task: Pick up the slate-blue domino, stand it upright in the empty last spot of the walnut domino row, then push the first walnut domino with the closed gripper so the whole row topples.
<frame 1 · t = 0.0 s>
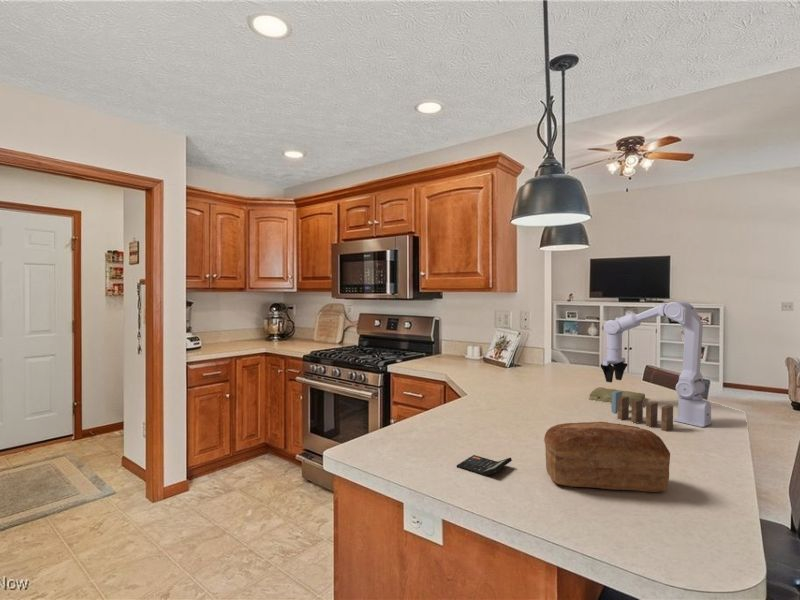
hand: (613, 381, 174), 10 cm above the counter, tool pointing down, fingers open, 7 cm apart
domino 3: (636, 422, 151), on the counter
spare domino: (616, 411, 164), on the counter
domino 1: (667, 429, 143), on the counter
domino 2: (651, 425, 147), on the counter
bread: (603, 483, 103), on the counter
decorative tile: (616, 401, 183), on the counter
calculator: (484, 469, 111), on the counter
domino 4: (623, 418, 155), on the counter
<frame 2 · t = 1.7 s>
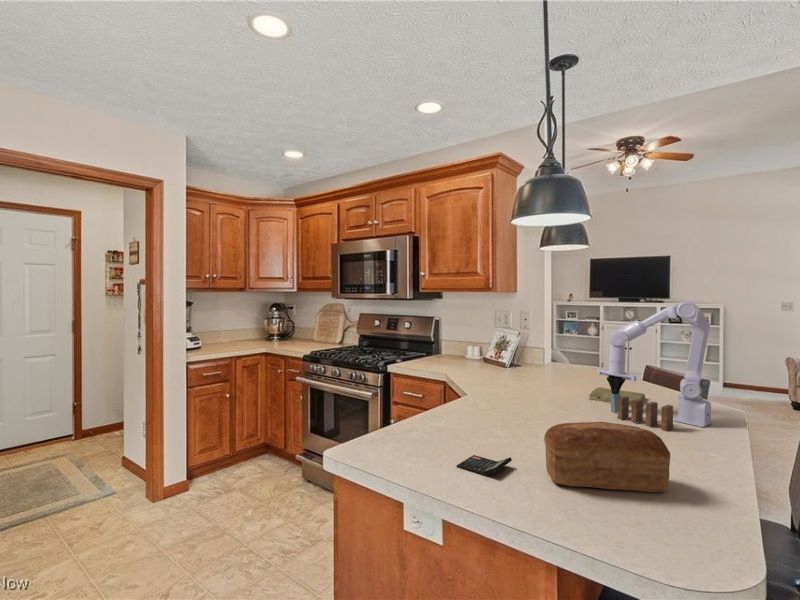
hand: (615, 395, 165), 6 cm above the counter, tool pointing down, fingers closed, pressing on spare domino
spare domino: (616, 414, 164), on the counter, touching gripper
everything else where it was.
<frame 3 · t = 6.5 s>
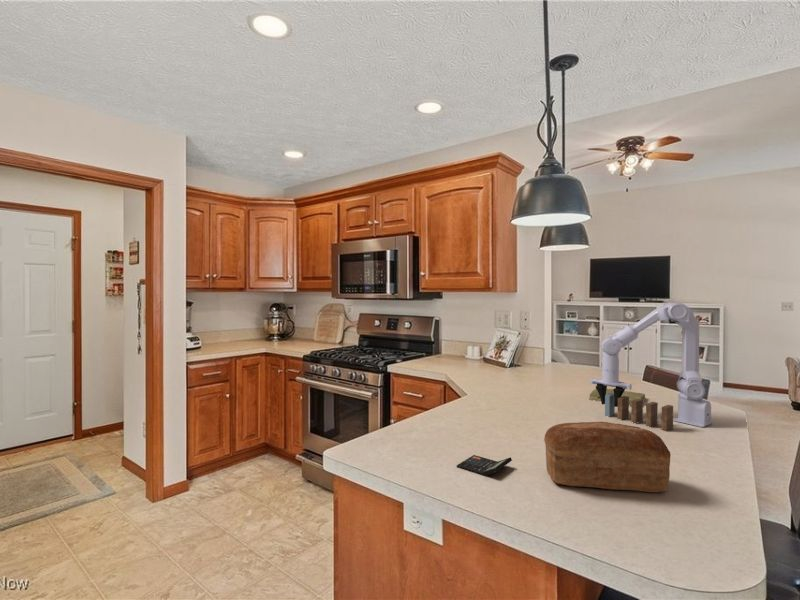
hand: (610, 405, 159), 4 cm above the counter, tool pointing down, fingers open, 4 cm apart
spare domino: (609, 415, 159), on the counter
everything else where it was.
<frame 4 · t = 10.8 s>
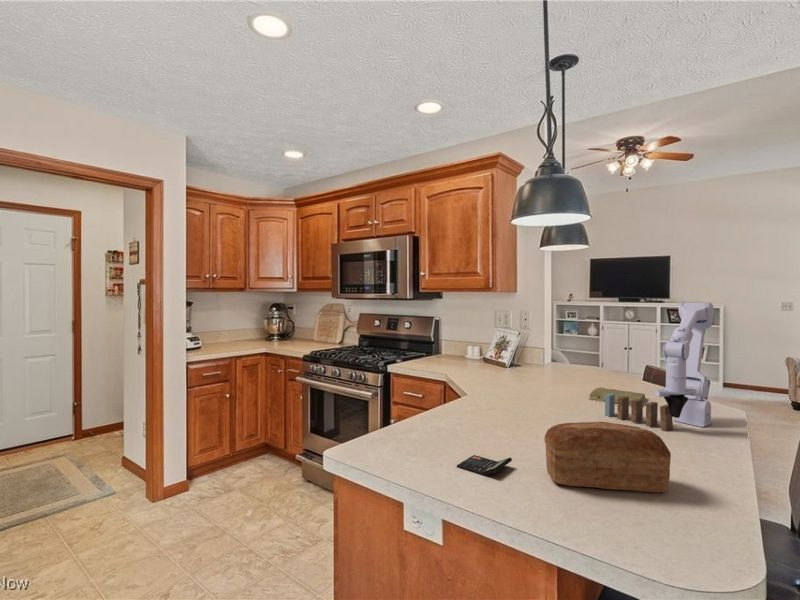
hand: (675, 417, 141), 5 cm above the counter, tool pointing down, fingers closed
domino 1: (667, 429, 143), on the counter, touching gripper
everything else where it was.
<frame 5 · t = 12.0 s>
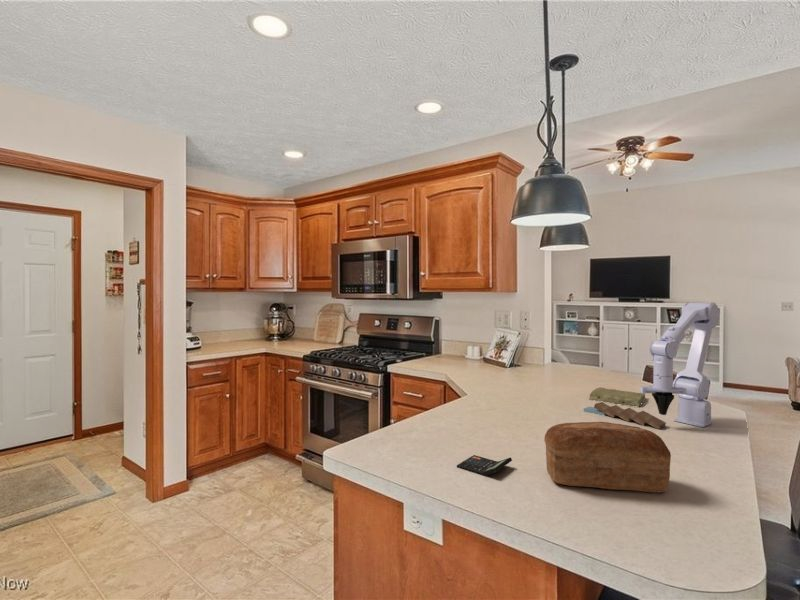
hand: (662, 414, 144), 5 cm above the counter, tool pointing down, fingers closed
domino 3: (632, 418, 152), point 1 cm above the counter, tilted 73°, touching domino 2, domino 4
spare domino: (607, 414, 160), on the counter, tilted 90°
domino 1: (662, 426, 144), point 1 cm above the counter, tilted 72°, touching domino 2
domino 2: (647, 422, 148), point 1 cm above the counter, tilted 72°, touching domino 1, domino 3
domino 4: (617, 415, 157), point 1 cm above the counter, tilted 74°, touching domino 3
everything else where it was.
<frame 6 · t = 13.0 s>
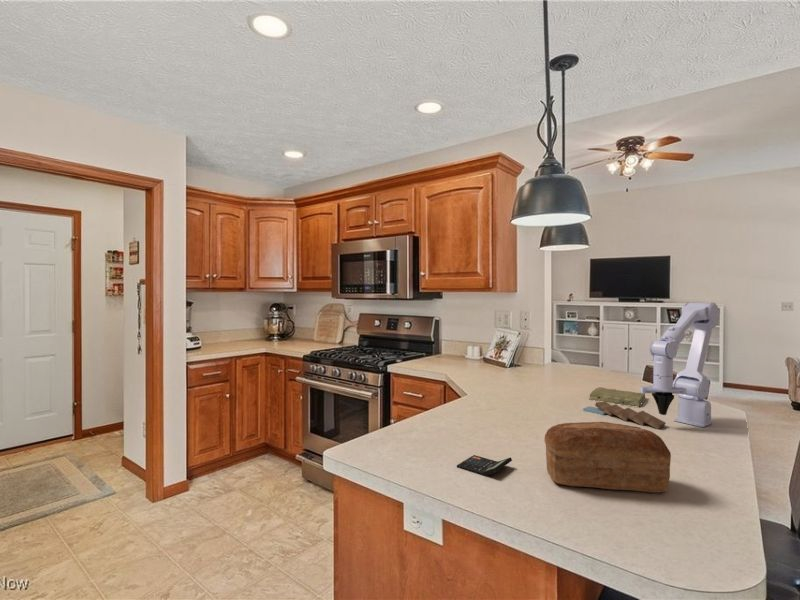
hand: (662, 414, 144), 5 cm above the counter, tool pointing down, fingers closed
domino 3: (630, 418, 153), point 1 cm above the counter, tilted 73°, touching domino 4
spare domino: (606, 413, 161), on the counter, tilted 90°, touching domino 4
domino 2: (646, 422, 148), point 1 cm above the counter, tilted 72°, touching domino 1
domino 4: (616, 413, 158), point 1 cm above the counter, tilted 78°, touching domino 3, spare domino
everything else where it was.
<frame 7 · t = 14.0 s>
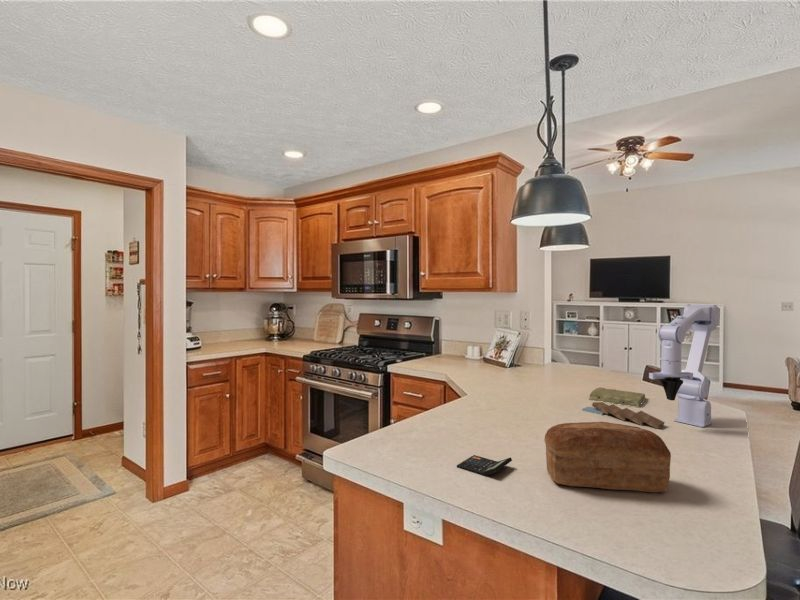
hand: (670, 399, 142), 10 cm above the counter, tool pointing down, fingers closed
domino 3: (628, 418, 153), point 1 cm above the counter, tilted 73°, touching domino 2
domino 2: (644, 422, 148), point 1 cm above the counter, tilted 73°, touching domino 1, domino 3
domino 4: (612, 412, 159), point 1 cm above the counter, tilted 82°, touching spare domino
everything else where it was.
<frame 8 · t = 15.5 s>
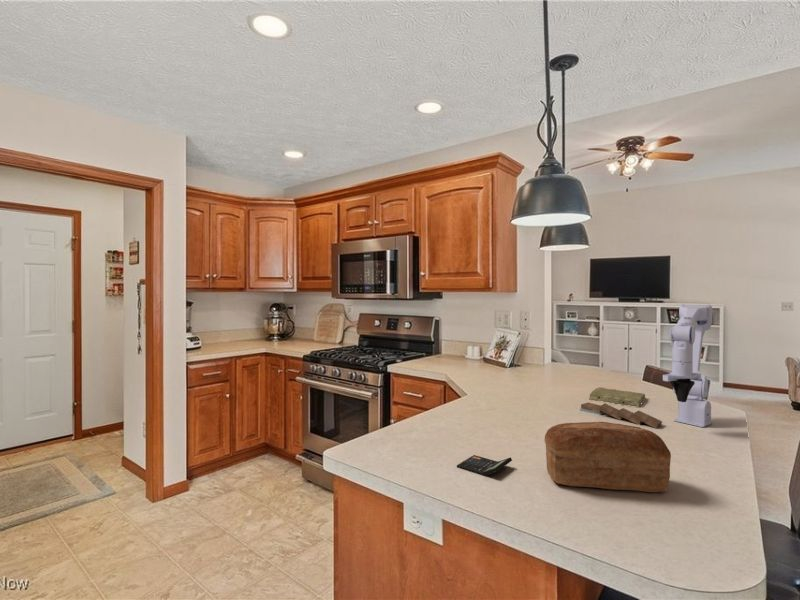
hand: (681, 401, 140), 10 cm above the counter, tool pointing down, fingers closed
domino 3: (623, 416, 155), point 1 cm above the counter, tilted 72°, touching domino 2, domino 4
domino 4: (603, 410, 161), point 2 cm above the counter, tilted 90°, touching domino 3, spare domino
at the end: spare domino tilted 90°; domino 1 tilted 73° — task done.
